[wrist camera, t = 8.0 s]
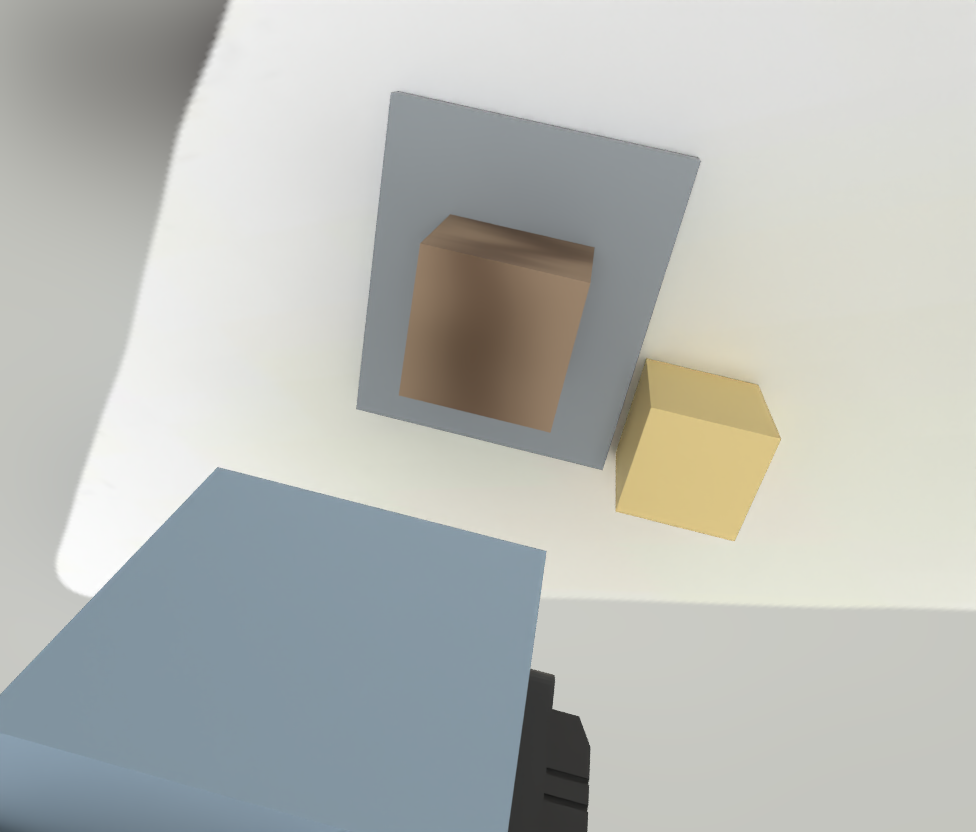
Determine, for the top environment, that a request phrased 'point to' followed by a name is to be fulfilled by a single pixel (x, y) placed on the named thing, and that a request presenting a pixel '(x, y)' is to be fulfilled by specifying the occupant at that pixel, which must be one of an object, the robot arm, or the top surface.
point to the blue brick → (281, 677)
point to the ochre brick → (693, 450)
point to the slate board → (536, 209)
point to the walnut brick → (494, 320)
